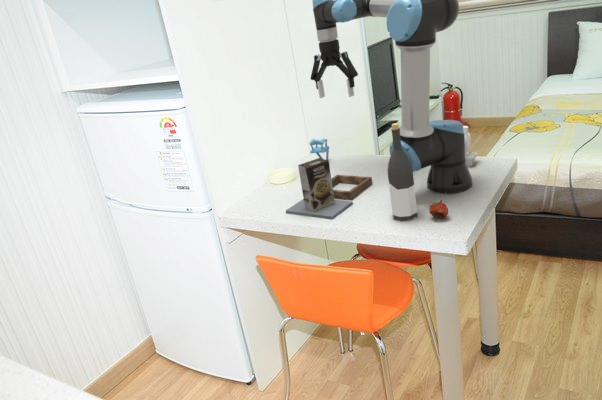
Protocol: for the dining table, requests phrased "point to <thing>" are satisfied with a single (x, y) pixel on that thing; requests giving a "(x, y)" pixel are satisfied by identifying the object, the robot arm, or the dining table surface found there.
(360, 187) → the walnut cradle
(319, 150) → the chair
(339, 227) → the dining table surface
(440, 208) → the pomegranate
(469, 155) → the figurine
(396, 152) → the wine bottle
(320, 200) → the coffee box
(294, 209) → the slate mat
